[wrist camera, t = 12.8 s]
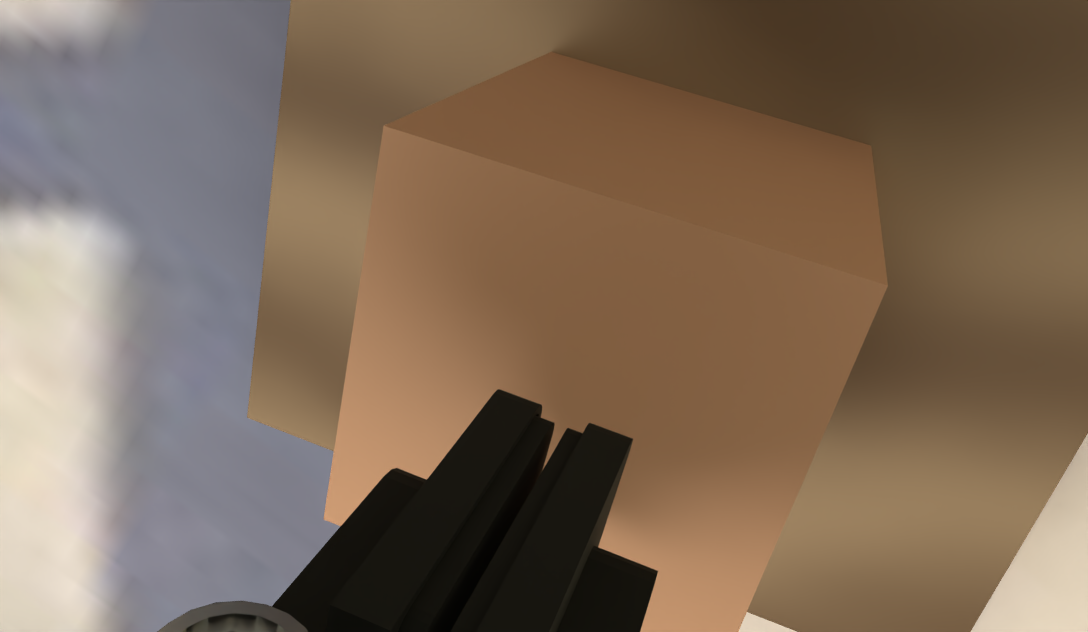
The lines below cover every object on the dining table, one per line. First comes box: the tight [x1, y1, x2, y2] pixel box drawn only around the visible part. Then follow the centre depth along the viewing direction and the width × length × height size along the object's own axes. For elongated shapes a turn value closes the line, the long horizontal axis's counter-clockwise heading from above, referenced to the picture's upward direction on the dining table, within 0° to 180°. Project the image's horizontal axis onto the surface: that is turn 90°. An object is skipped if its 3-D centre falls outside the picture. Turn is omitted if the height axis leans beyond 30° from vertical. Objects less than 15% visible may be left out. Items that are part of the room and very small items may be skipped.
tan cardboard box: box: [324, 52, 888, 632], centre depth 16 cm, size 6×6×8 cm
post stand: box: [247, 0, 1088, 632], centre depth 17 cm, size 16×18×8 cm
